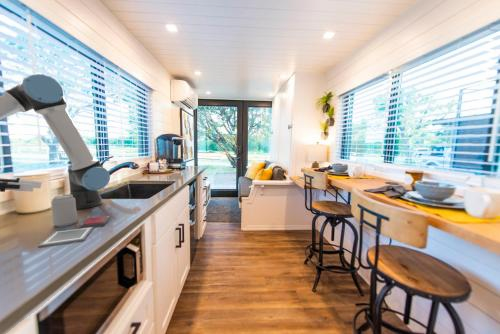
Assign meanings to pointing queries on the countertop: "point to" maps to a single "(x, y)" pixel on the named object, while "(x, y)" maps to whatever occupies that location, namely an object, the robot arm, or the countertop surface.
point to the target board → (67, 236)
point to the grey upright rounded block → (64, 210)
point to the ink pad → (95, 222)
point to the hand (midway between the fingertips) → (37, 186)
